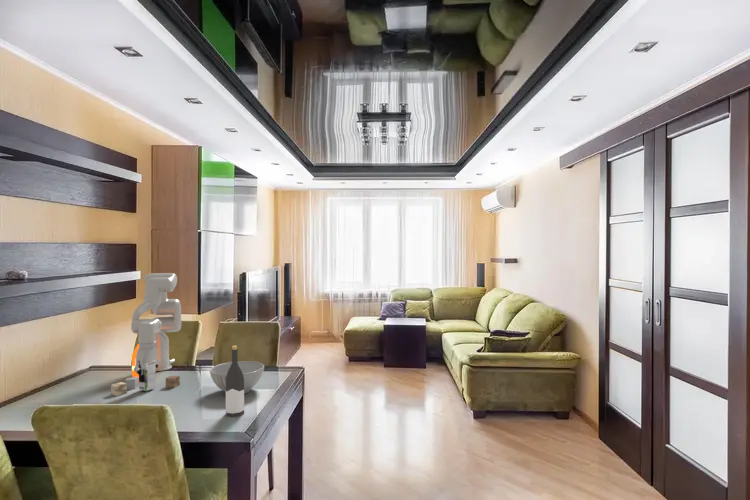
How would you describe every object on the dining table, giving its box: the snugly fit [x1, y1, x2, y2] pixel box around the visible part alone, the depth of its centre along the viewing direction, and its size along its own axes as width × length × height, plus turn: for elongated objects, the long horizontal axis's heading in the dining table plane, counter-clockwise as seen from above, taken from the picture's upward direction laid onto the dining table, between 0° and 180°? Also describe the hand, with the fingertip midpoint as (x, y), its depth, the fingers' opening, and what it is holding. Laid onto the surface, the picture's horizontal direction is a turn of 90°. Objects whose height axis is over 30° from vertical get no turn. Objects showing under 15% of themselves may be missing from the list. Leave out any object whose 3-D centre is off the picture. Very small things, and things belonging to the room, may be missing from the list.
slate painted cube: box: [124, 376, 139, 390], centre depth 236 cm, size 5×5×5 cm
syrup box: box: [138, 361, 156, 392], centre depth 231 cm, size 6×6×14 cm
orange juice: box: [131, 343, 139, 377], centre depth 249 cm, size 8×9×20 cm
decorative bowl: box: [209, 360, 265, 395], centre depth 229 cm, size 27×27×12 cm
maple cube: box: [110, 381, 128, 397], centre depth 226 cm, size 5×5×5 cm
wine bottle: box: [225, 345, 245, 418], centre depth 198 cm, size 8×8×30 cm
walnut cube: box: [165, 375, 181, 389], centre depth 238 cm, size 5×5×5 cm
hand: (147, 379), depth 232 cm, fingers closed on syrup box, 6 cm apart
